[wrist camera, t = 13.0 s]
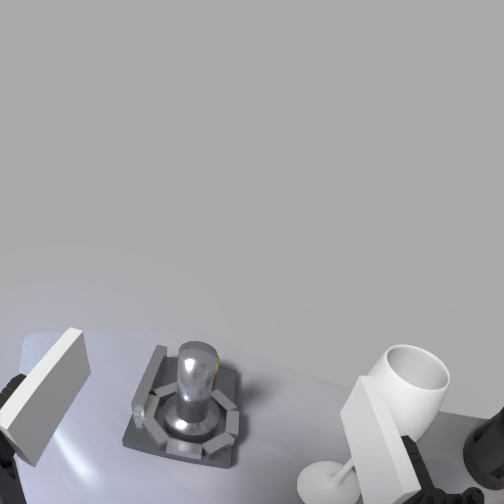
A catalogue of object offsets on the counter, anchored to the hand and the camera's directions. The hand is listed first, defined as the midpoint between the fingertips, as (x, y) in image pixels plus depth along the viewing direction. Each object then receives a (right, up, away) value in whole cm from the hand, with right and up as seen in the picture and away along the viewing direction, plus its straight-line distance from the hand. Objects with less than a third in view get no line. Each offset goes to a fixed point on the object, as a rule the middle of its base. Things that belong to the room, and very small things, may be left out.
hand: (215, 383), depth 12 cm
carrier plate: (-8, -16, +23) cm, 29 cm away
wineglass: (+11, -23, +14) cm, 29 cm away
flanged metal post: (-6, -16, +20) cm, 26 cm away
